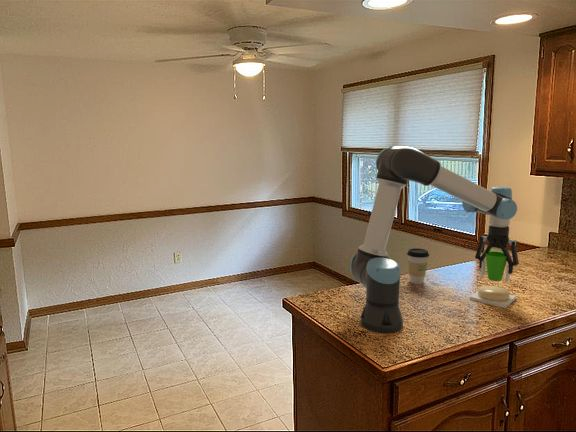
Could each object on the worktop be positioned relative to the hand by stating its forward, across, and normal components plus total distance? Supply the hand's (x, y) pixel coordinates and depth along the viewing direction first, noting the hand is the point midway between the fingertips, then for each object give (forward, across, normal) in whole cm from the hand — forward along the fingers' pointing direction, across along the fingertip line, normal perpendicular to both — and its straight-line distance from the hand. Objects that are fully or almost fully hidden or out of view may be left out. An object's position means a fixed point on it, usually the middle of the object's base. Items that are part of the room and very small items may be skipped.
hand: (494, 278), depth 184 cm
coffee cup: (+9, +34, +1) cm, 35 cm away
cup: (+1, 0, 0) cm, 1 cm away
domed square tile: (+9, 0, 0) cm, 9 cm away
